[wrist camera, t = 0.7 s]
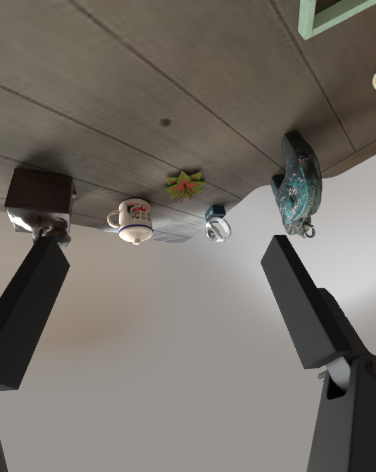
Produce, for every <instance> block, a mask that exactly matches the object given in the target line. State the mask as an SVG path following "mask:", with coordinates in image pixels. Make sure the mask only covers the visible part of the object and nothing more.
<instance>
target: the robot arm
mask: <svg viewBox="0 0 376 472" xmlns="http://www.w3.org/2000/svg"><path fill="white" fill-rule="evenodd" d="M261 265H262V267H263V269H264V272H265V275H266V277H267V279H268V282H269V284H270V287H271V289H272V292H273V294H274V297H275V299H276V302H277V304H278V306H279V309H280V311H281V314H282V316H283V319H284V321H285V324H286V326H287V328H288V331H289V333H290V336H291V338H292V341H293V343H294V346H295V348H296V351H297V353H298V355H299V358H300V360H301V363H302V365H303V367H304V369H312V368H320V367H322V366H324V365H326V367H327V369H328V370H326V371H324V372H322V373H320V374H319V375H318V378H319V379H321V378H324V377H325V379H324V381H323V382H324V384H323V389H322V395H321V400H320V405H319V411H318V416H317V421H316V426H315V431H314V436H313V442H312V447H311V452H310V457H309V462H308V468H307V472H376V356H375V355H373V354H371V353H370V352H369V351H368V350H367V348H366V347H365V346H364V344H363V342H362V341H361V339H360V338H359V336H358V335H357V333H356V332H355V330H354V328H353V327H352V325H351V324H350V322H349V320H348V319H347V317H346V316H345V315H344V312H343V311H342V309H341V308H340V307H339V305H338V303H337V301H336V300H335V299H334V297H333V296H332V295H331V294H330V293H329V292H328V291H327V290H326V289H325V288H317V287H316V286H315V284H314V282H313V280H312V279H311V277H310V275H309V274H308V272H307V270H306V269H305V267H304V265H303V263H302V262H301V260H300V258H299V257H298V255H297V253H296V252H295V250H294V248H293V247H292V245H291V243H290V241H289V240H288V238H287V236H286V235H274V236H273V238H272V240H271V242H270V244H269V246H268V248H267V250H266V252H265V254H264V256H263V258H262V260H261ZM69 267H70V265H69V263H68V261H67V260H66V257H65V256H64V254H63V252H62V250H61V249H60V247H59V245H58V243H57V241H56V240H55V238H54V236H39V237H38V239H37V241H36V242H35V244H34V245H33V247H32V248H31V250H30V252H29V253H28V255H27V256H26V258H25V260H24V261H23V263H22V264H21V266H20V267H19V269H18V270H17V272H16V274H15V275H14V277H13V278H12V280H11V281H10V283H9V285H8V286H7V288H6V289H5V291H4V292H3V294H2V296H1V297H0V391H5V390H18V389H19V386H20V384H21V381H22V379H23V376H24V374H25V372H26V370H27V367H28V365H29V362H30V360H31V358H32V355H33V353H34V351H35V348H36V345H37V343H38V341H39V338H40V336H41V334H42V331H43V329H44V327H45V324H46V322H47V320H48V317H49V315H50V313H51V310H52V308H53V305H54V303H55V301H56V298H57V296H58V293H59V291H60V289H61V286H62V284H63V281H64V279H65V277H66V275H67V272H68V270H69ZM0 472H8V469H7V465H6V462H5V457H4V454H3V449H2V445H1V441H0Z"/></svg>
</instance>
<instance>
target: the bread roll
mask: <svg viewBox="0 0 376 472" xmlns="http://www.w3.org/2000/svg"><path fill="white" fill-rule="evenodd" d="M373 86H374V87H375V89H376V74H375V75H374V77H373Z"/></svg>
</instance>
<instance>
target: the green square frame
mask: <svg viewBox="0 0 376 472" xmlns="http://www.w3.org/2000/svg"><path fill="white" fill-rule="evenodd" d="M374 4H376V0H342V1H340V2H338V3H336V4H334V5H333V6H331V7H329V8H327V9H325V10H323V11H322V12H320V13H318V14H316V15H314V13H315V6H316V0H300V13H299V26H298V32H299V33H300V34H301V36H302V37H303V38H304V40H307V39H309V38H311V37H313V36H315V35H317V34H319V33H320V32H322V31H324V30H326V29H328V28H330V27H332V26H334V25H336V24H338V23H340V22H341V21H343V20H345V19H347V18H349V17H351V16H353V15H355V14H357V13H359V12H361V11H362V10H364V9H366V8H368V7H370V6H372V5H374Z"/></svg>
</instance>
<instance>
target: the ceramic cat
mask: <svg viewBox="0 0 376 472" xmlns="http://www.w3.org/2000/svg"><path fill="white" fill-rule="evenodd" d="M282 148H283V151H284V155H285V161H286V175H278V176H275V177H272V181H271V187H272V190H273V193H274V195H275V199H276V203H277V205H278V208H279V211H280V213H281V216H282V222H283V225H284V228H285V229H286V231H287V233H288V234H289V235H294V234H298V235H300V236H302V237H303V238H305V237H304V233H305V235H306V236H307V237H309V238H312V237H314V236H315V230H314V229H313V228H312V235H311V236H309V235H308V234H307V233H306V232H307V231H308V230H309V228H311V227H313V225H311V217H310V216H311V215H313V214H315V213H316V212H317V210H318V208H319V206H320V203H321V192H322V176H321V171H320V166H319V162H318V159H317V157H316V155H315V153H314V151H313V149H312V148H311V146H310V145H309V144H308V143H307V142H306V141H305V140H304V139H303V137H302V136H301V135H300V133H299V132H298V131H294V132H291V133H288V134H285V135H284V137H283V140H282ZM316 206H317V207H316Z"/></svg>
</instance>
